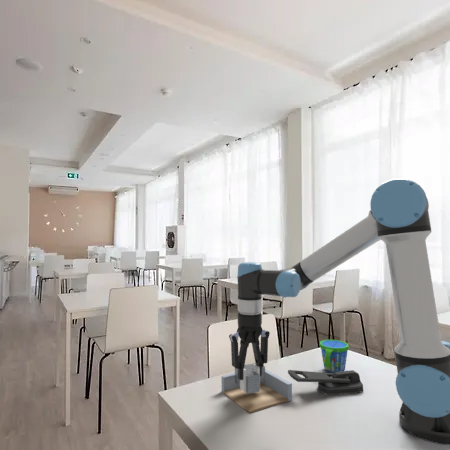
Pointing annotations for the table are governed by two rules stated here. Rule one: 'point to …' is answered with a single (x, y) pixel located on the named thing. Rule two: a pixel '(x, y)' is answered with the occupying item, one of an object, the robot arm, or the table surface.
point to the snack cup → (334, 355)
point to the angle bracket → (251, 379)
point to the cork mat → (256, 398)
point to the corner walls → (270, 381)
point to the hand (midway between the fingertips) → (249, 388)
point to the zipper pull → (331, 381)
